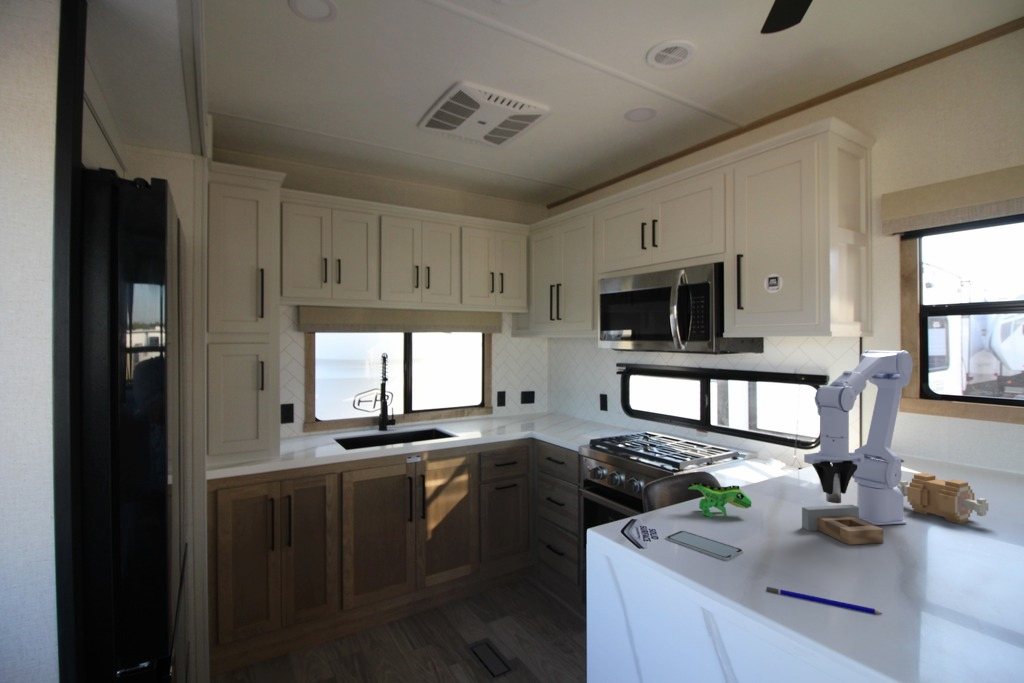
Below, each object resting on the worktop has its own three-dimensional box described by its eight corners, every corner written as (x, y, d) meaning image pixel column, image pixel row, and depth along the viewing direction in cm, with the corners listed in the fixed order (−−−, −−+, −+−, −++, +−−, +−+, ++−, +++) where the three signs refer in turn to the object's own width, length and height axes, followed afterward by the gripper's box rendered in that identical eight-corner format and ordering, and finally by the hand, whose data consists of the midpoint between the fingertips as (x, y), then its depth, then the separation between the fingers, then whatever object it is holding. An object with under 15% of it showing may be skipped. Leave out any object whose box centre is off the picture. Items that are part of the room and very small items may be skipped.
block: (850, 527, 119) (850, 515, 119) (883, 542, 110) (883, 529, 110) (817, 529, 118) (817, 517, 118) (848, 544, 109) (848, 531, 109)
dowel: (833, 499, 119) (832, 470, 119) (844, 502, 116) (843, 473, 116) (823, 500, 118) (822, 471, 118) (833, 503, 115) (833, 473, 116)
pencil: (766, 593, 88) (766, 587, 88) (766, 591, 89) (766, 585, 89) (882, 617, 80) (882, 611, 80) (881, 615, 81) (881, 609, 81)
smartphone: (682, 530, 116) (744, 550, 105) (682, 533, 116) (744, 553, 105) (664, 537, 112) (727, 559, 100) (664, 541, 112) (727, 563, 100)
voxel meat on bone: (912, 503, 139) (912, 468, 139) (994, 525, 122) (994, 485, 122) (890, 508, 135) (890, 471, 135) (973, 530, 118) (973, 489, 118)
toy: (742, 531, 124) (757, 495, 124) (683, 506, 127) (697, 470, 127) (737, 523, 130) (751, 488, 130) (680, 499, 133) (693, 465, 133)
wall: (852, 524, 122) (852, 504, 122) (858, 527, 120) (858, 507, 120) (801, 527, 119) (802, 507, 119) (808, 530, 117) (808, 509, 117)
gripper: (847, 432, 122) (847, 486, 122) (795, 433, 120) (794, 488, 120) (872, 437, 115) (872, 495, 115) (816, 438, 113) (816, 497, 113)
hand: (834, 492), depth 117 cm, fingers closed on dowel, 3 cm apart
